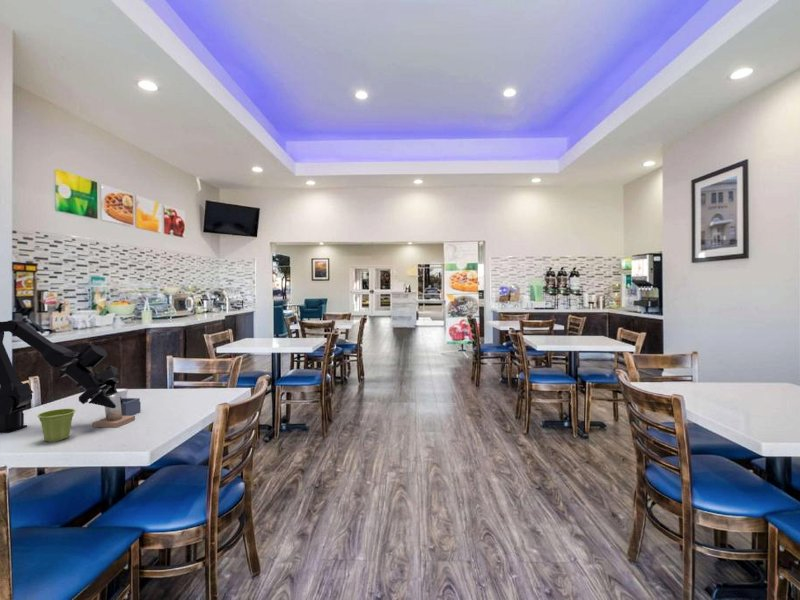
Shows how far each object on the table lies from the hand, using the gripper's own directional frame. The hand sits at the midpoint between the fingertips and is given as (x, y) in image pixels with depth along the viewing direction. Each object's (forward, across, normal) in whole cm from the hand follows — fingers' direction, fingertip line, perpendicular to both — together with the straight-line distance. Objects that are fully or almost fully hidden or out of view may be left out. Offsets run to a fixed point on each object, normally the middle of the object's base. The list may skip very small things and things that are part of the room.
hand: (118, 405), depth 149 cm
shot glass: (-2, +26, +12) cm, 28 cm away
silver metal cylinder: (+2, 0, +4) cm, 5 cm away
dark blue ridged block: (+3, +12, +6) cm, 14 cm away
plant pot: (-4, -14, +14) cm, 20 cm away
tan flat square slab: (+4, 0, +6) cm, 7 cm away
